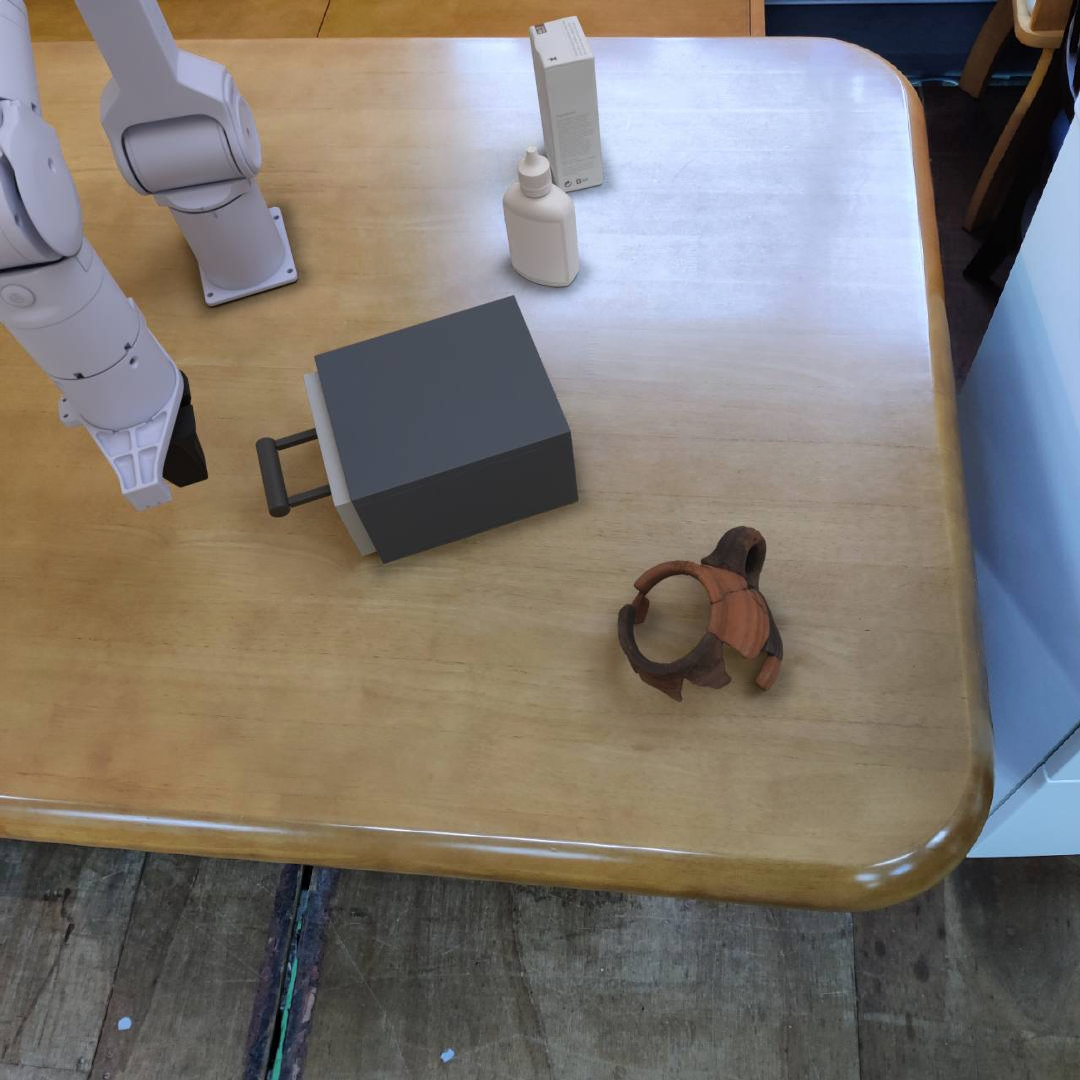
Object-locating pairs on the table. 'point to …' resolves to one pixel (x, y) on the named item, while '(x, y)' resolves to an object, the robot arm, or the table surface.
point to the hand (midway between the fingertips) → (192, 475)
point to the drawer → (337, 483)
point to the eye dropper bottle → (541, 225)
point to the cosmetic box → (567, 102)
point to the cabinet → (447, 429)
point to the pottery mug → (712, 617)
